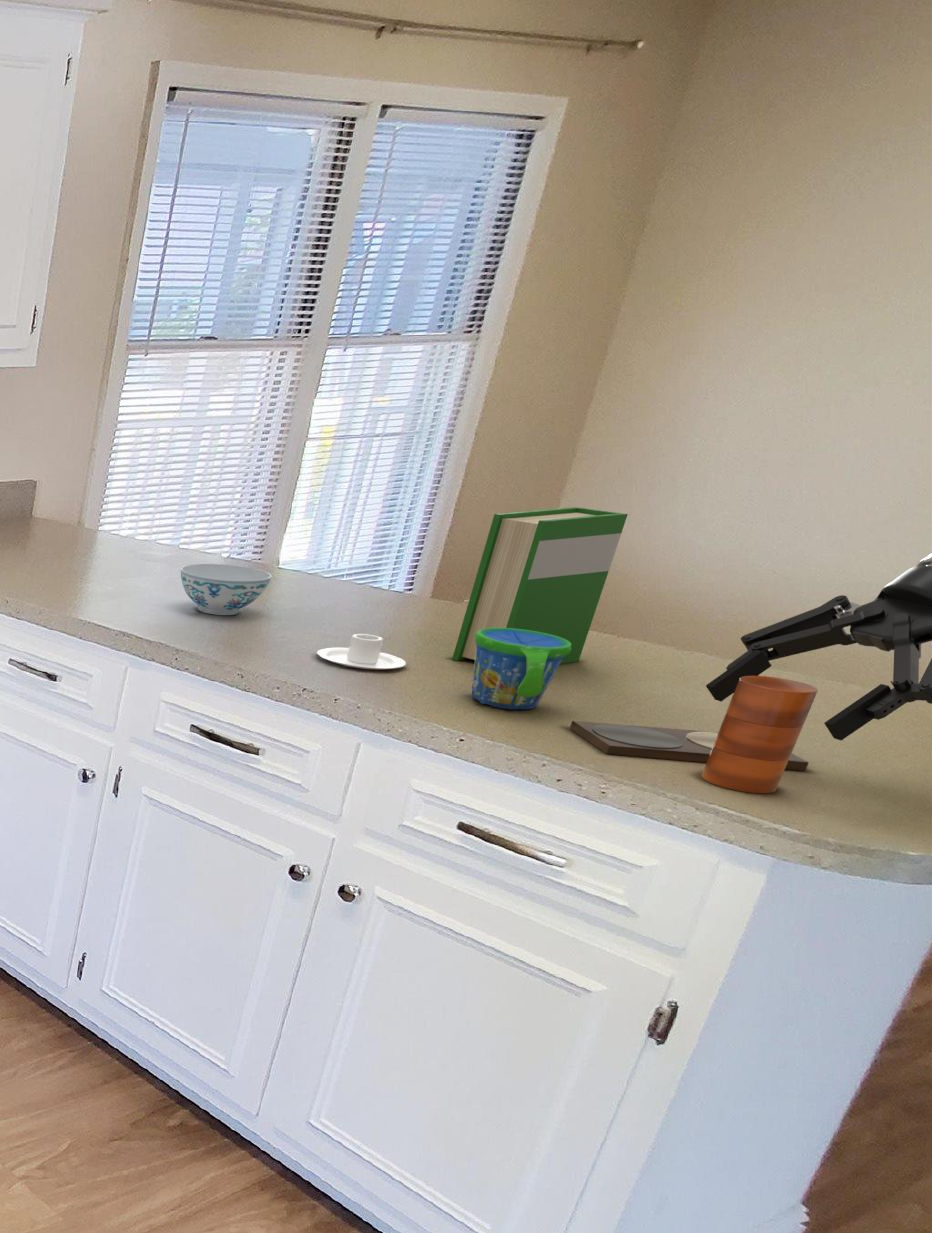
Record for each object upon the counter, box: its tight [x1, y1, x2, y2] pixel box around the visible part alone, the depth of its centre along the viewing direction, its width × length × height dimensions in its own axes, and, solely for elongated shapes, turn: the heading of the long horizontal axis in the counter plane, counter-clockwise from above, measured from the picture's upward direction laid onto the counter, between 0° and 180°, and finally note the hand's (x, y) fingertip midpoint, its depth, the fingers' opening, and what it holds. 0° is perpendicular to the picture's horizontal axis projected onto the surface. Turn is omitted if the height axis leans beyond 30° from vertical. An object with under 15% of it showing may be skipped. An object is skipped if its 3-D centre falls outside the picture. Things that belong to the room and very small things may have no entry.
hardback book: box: [451, 506, 629, 664], centre depth 179 cm, size 18×7×24 cm, turn 106°
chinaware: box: [180, 563, 272, 616], centre depth 215 cm, size 15×15×8 cm
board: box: [569, 720, 809, 772], centre depth 146 cm, size 10×20×1 cm, turn 71°
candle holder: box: [316, 633, 407, 670], centre depth 183 cm, size 12×12×4 cm
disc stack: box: [701, 675, 819, 794], centre depth 134 cm, size 6×6×13 cm
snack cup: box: [471, 628, 571, 711], centre depth 162 cm, size 16×10×10 cm
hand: (769, 712), depth 133 cm, fingers open, 13 cm apart
